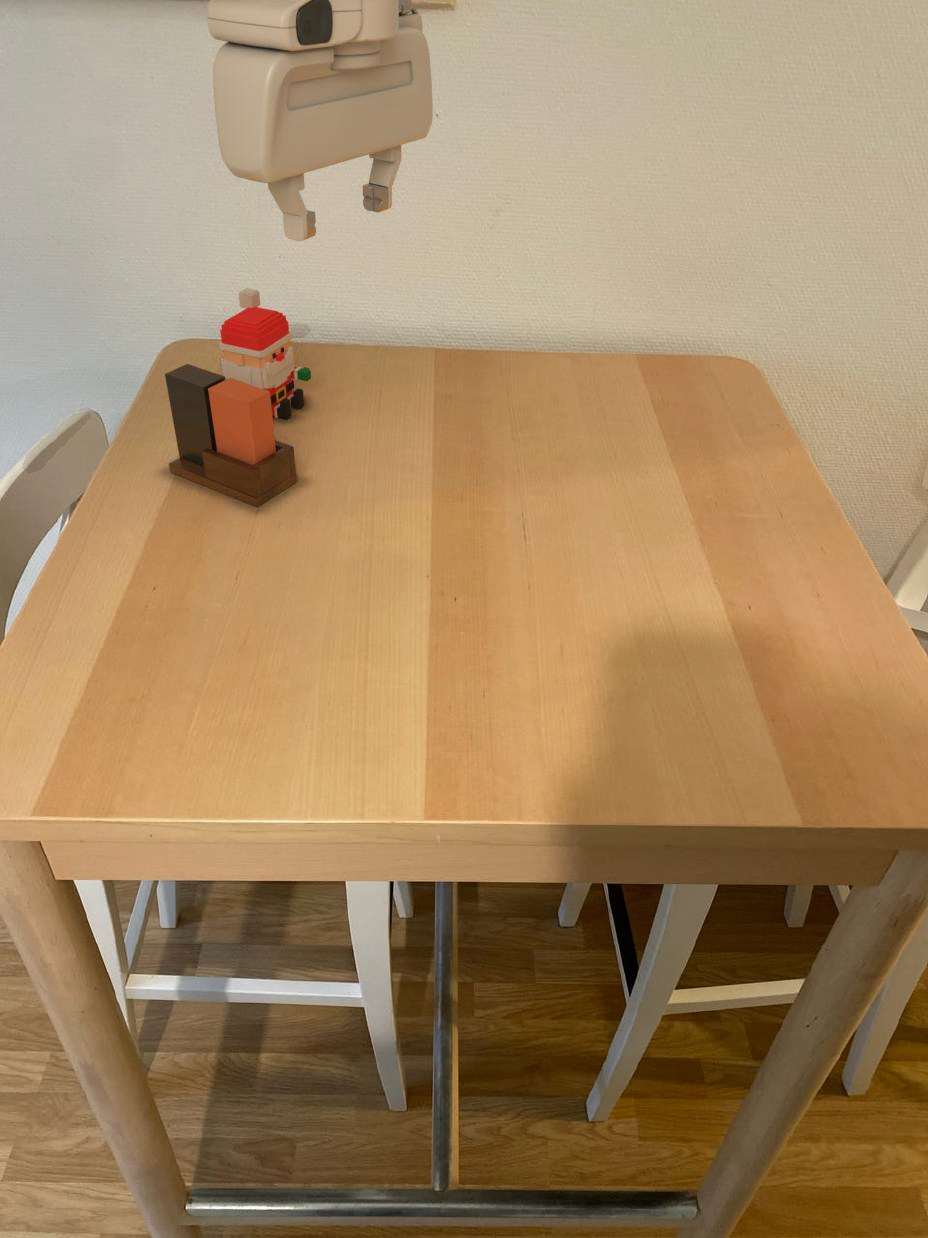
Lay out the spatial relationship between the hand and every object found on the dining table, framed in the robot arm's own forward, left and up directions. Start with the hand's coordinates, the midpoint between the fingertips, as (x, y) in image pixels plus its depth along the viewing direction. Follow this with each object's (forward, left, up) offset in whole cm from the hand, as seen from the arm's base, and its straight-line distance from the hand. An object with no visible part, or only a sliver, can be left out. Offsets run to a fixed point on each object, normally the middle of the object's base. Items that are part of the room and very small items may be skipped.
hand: (340, 223), depth 68 cm
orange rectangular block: (-10, +9, -26) cm, 29 cm away
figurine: (-8, +26, -27) cm, 38 cm away
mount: (-11, +10, -27) cm, 31 cm away
